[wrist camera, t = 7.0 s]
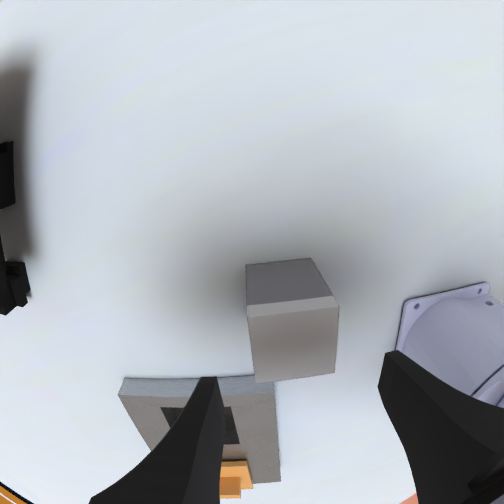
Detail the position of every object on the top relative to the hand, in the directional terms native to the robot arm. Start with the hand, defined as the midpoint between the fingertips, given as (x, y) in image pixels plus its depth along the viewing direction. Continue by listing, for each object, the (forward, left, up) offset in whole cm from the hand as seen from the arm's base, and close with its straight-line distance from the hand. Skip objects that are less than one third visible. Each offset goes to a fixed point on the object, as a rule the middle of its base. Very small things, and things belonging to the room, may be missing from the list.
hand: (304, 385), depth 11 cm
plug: (0, 0, -8) cm, 8 cm away
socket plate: (+7, +15, -8) cm, 19 cm away
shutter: (+7, +20, -6) cm, 22 cm away
